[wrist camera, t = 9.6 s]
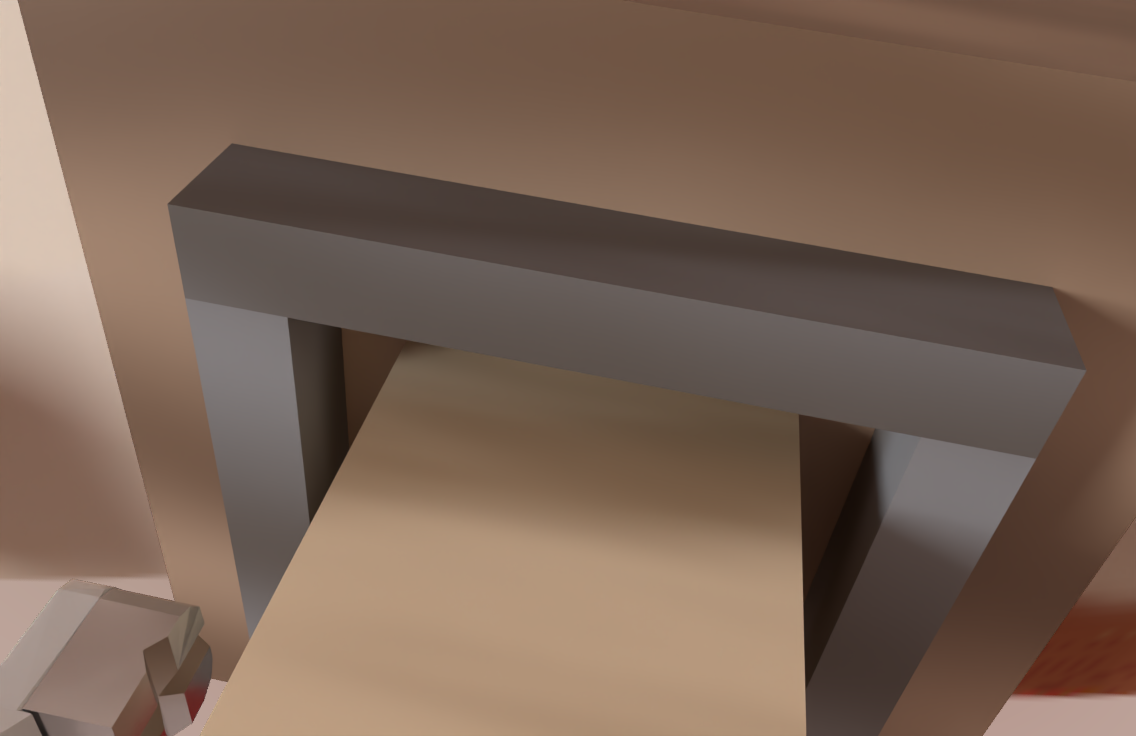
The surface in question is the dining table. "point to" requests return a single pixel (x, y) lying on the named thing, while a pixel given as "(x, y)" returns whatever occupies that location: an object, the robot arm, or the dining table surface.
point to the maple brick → (539, 567)
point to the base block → (638, 275)
